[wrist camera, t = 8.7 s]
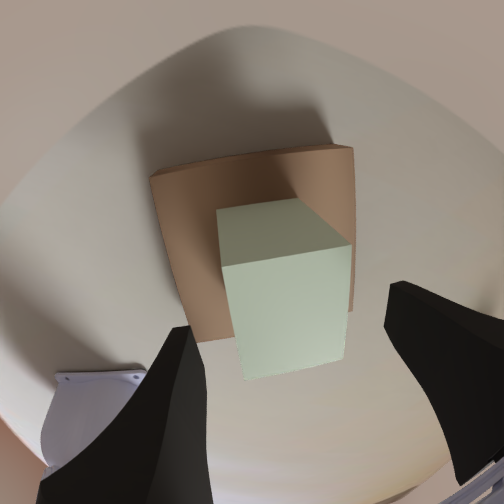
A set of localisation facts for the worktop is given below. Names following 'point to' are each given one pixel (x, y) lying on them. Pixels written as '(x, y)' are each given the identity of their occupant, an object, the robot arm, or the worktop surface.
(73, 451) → the robot arm
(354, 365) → the worktop surface
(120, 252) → the worktop surface
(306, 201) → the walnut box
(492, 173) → the worktop surface
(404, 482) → the worktop surface
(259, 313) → the sage-green block
